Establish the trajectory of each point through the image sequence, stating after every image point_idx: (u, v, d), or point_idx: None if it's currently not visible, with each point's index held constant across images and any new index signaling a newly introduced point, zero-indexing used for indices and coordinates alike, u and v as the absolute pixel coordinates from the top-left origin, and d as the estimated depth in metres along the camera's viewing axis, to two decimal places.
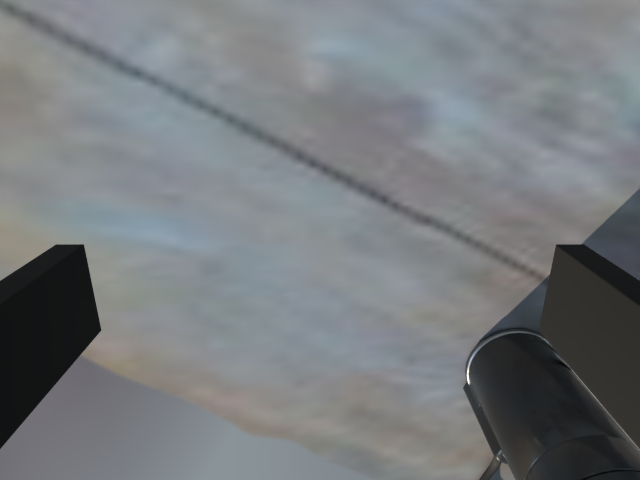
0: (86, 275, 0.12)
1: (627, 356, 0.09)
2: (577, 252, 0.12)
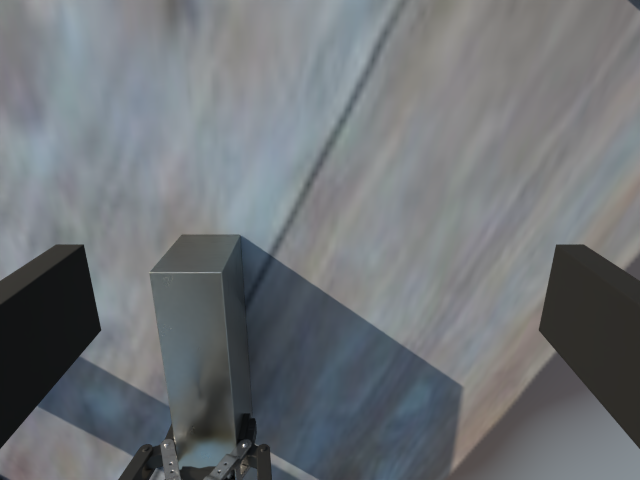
0: (86, 275, 0.12)
1: (627, 356, 0.09)
2: (577, 252, 0.12)
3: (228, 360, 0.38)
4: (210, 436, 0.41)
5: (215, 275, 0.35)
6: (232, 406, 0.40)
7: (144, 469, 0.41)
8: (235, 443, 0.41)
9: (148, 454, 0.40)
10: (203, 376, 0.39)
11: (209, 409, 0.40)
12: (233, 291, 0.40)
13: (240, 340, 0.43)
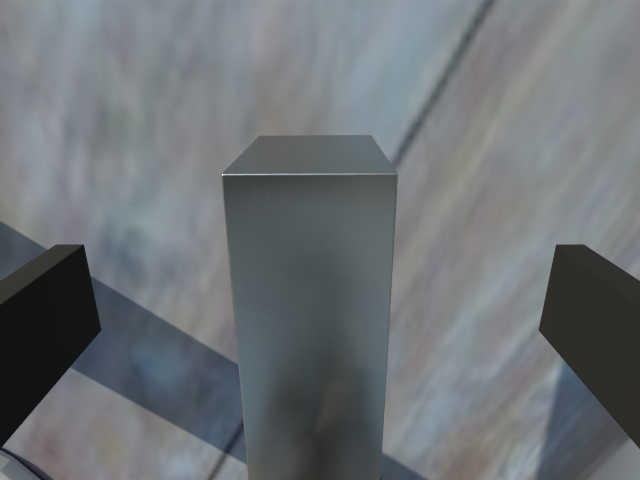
0: (87, 275, 0.12)
1: (627, 356, 0.09)
2: (577, 252, 0.12)
3: (384, 382, 0.17)
4: None
5: (383, 181, 0.14)
6: (378, 475, 0.19)
7: None
8: None
9: None
10: (324, 415, 0.18)
11: None
12: None
13: None
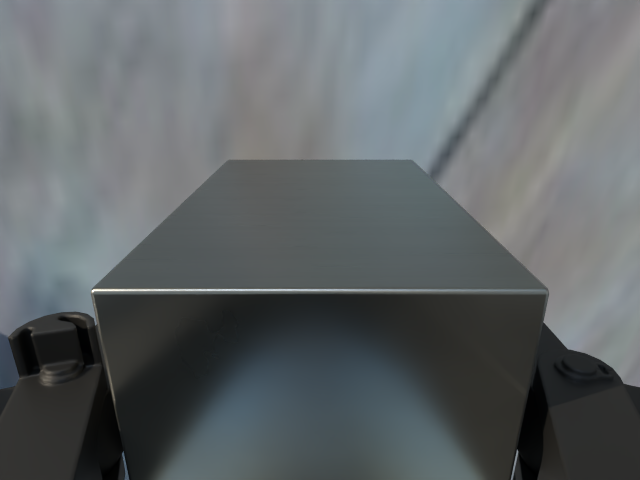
0: None
1: None
2: None
3: None
4: None
5: (510, 309, 0.06)
6: None
7: None
8: None
9: None
10: None
11: None
12: None
13: None
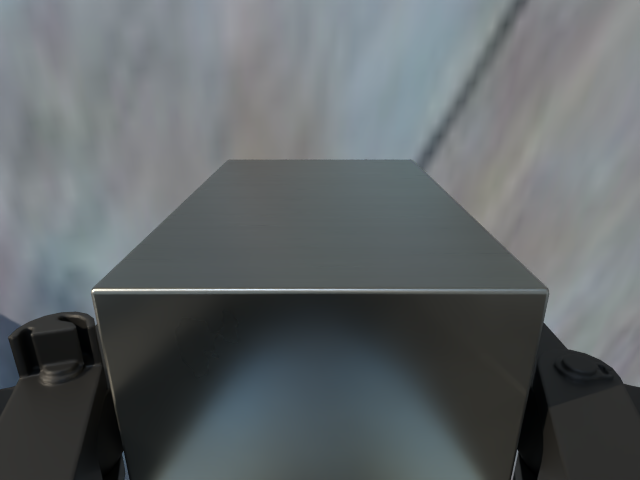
0: None
1: None
2: None
3: None
4: None
5: (509, 309, 0.06)
6: None
7: None
8: None
9: None
10: None
11: None
12: None
13: None
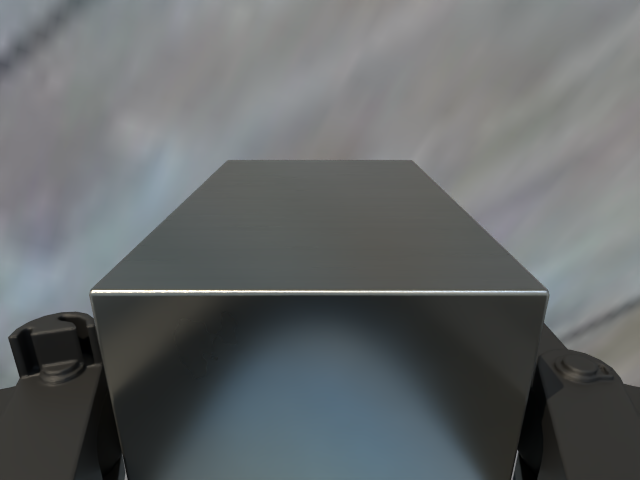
0: None
1: None
2: None
3: None
4: None
5: (509, 310, 0.06)
6: None
7: None
8: None
9: None
10: None
11: None
12: None
13: None
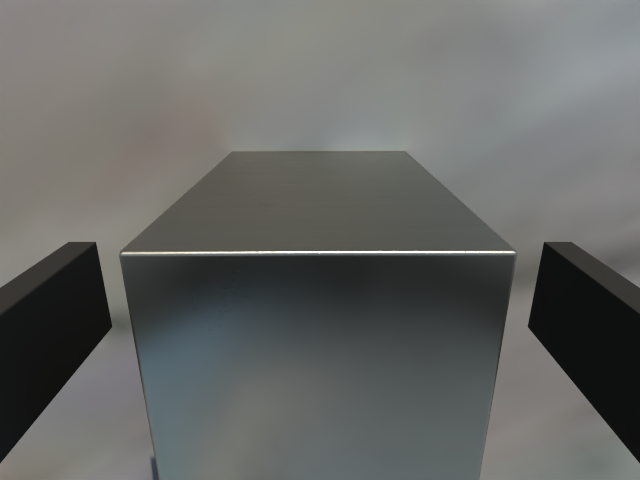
0: (98, 272, 0.12)
1: (610, 351, 0.09)
2: (564, 249, 0.12)
3: None
4: None
5: (482, 269, 0.06)
6: None
7: None
8: None
9: None
10: None
11: None
12: None
13: None
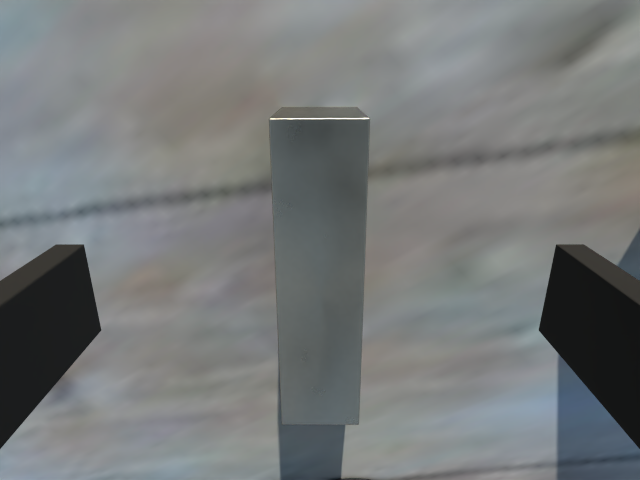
0: (87, 275, 0.12)
1: (627, 356, 0.09)
2: (577, 252, 0.12)
3: (363, 253, 0.28)
4: (327, 363, 0.31)
5: (361, 123, 0.25)
6: (361, 321, 0.30)
7: None
8: (359, 374, 0.31)
9: None
10: (327, 276, 0.29)
11: (330, 325, 0.30)
12: None
13: None
